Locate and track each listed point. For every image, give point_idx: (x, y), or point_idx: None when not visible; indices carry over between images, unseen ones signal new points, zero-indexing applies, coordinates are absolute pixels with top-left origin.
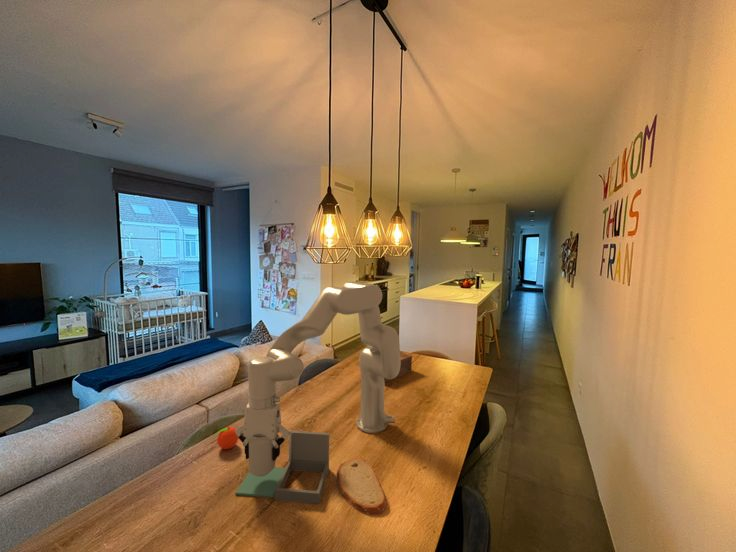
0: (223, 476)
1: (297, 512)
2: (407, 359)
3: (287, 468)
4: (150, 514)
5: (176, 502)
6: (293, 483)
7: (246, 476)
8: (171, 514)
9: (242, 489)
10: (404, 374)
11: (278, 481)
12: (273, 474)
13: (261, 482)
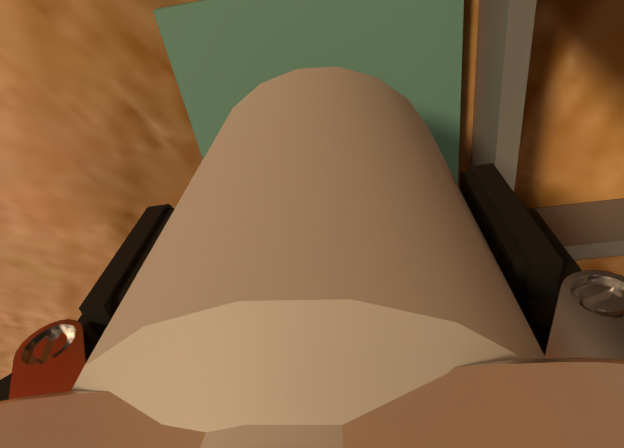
0: (48, 148)
1: (615, 263)
2: None
3: (527, 66)
4: (4, 367)
5: (24, 320)
6: (558, 87)
7: (198, 133)
8: None
9: None
10: None
11: (448, 120)
12: (379, 63)
13: None
